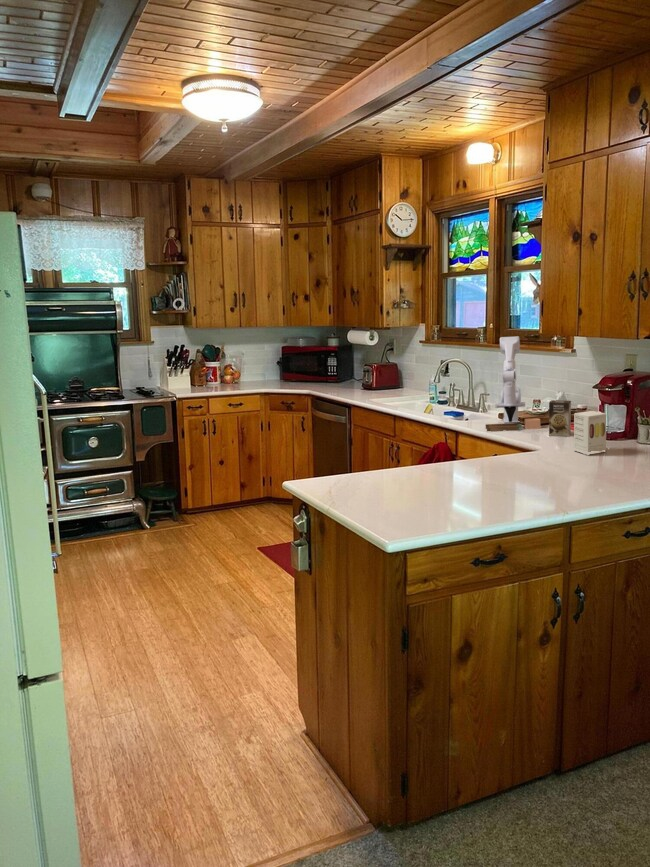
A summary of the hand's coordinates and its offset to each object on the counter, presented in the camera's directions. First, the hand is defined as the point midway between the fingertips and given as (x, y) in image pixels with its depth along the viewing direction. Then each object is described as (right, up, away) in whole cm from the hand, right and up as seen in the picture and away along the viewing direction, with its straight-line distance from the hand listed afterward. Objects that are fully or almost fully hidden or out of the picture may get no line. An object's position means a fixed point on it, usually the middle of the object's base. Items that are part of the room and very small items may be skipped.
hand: (510, 421), depth 349 cm
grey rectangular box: (+18, -7, -20) cm, 28 cm away
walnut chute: (-3, -4, +1) cm, 5 cm away
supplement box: (+19, -14, -53) cm, 59 cm away
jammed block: (+11, -3, -1) cm, 11 cm away
